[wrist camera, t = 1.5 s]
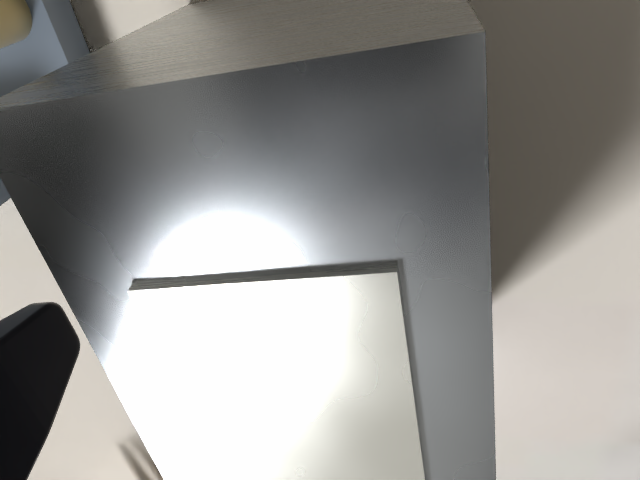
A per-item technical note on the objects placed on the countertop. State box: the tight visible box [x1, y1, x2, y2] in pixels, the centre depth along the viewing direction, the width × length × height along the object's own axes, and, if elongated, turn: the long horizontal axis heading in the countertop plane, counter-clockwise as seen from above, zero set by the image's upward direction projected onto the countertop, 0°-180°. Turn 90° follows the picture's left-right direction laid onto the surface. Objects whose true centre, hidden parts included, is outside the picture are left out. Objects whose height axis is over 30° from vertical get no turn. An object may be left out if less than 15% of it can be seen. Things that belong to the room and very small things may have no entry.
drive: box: [0, 0, 496, 480], centre depth 9 cm, size 8×4×6 cm, turn 11°
